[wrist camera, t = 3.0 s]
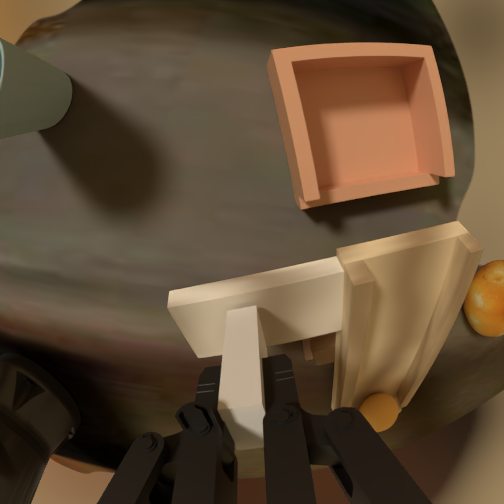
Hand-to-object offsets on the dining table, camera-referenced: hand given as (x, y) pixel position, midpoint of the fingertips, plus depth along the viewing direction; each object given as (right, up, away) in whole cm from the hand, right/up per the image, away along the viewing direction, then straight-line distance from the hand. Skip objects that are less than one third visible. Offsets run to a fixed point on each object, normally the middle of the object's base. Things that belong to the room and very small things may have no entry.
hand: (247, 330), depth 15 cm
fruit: (+26, 0, +12) cm, 28 cm away
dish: (+8, +14, +6) cm, 17 cm away
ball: (+12, -11, +9) cm, 19 cm away
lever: (+6, -4, +7) cm, 10 cm away
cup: (-18, +18, +4) cm, 25 cm away
